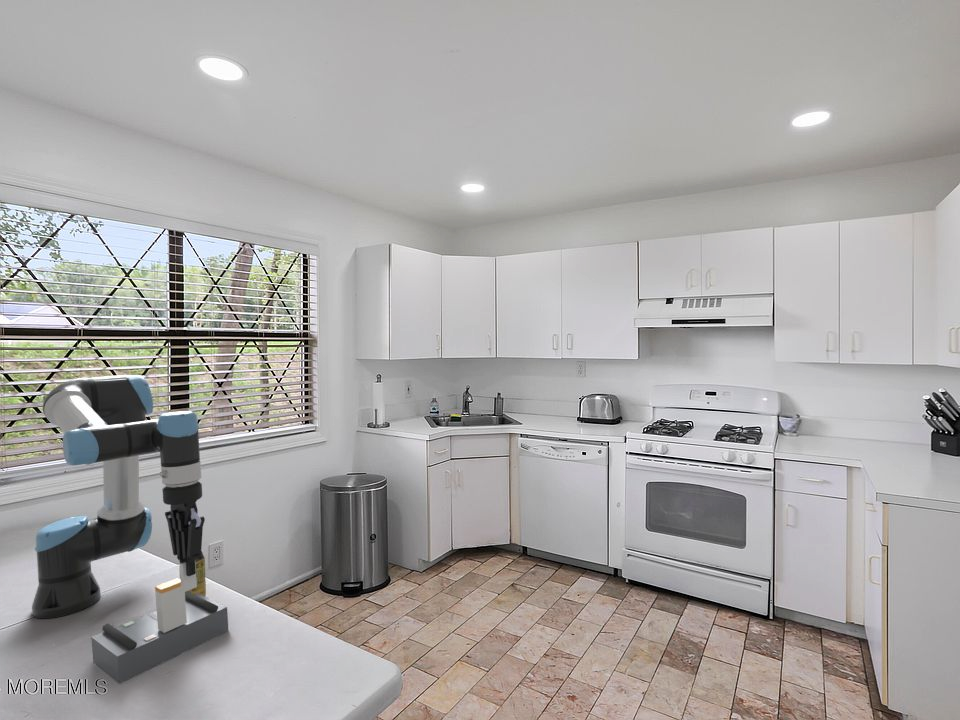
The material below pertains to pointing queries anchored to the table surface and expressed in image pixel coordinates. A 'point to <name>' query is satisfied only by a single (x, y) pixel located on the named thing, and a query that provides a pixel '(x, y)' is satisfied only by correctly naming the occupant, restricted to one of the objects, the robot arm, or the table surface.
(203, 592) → the sauce bottle
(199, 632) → the switch panel
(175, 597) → the lever
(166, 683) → the table surface
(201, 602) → the pair of dark rails
